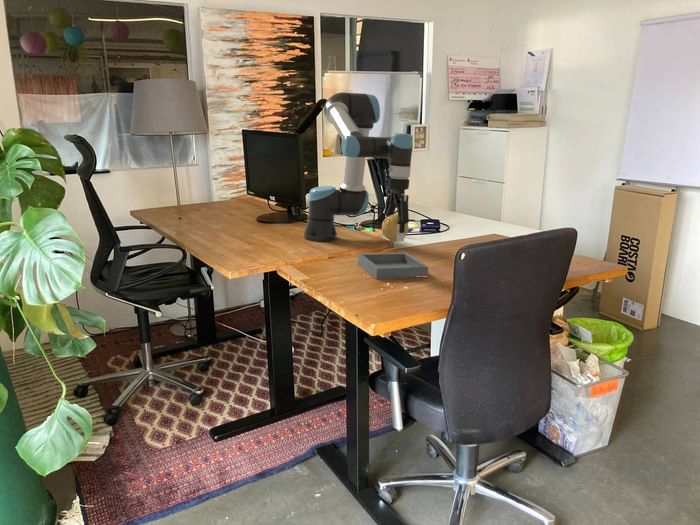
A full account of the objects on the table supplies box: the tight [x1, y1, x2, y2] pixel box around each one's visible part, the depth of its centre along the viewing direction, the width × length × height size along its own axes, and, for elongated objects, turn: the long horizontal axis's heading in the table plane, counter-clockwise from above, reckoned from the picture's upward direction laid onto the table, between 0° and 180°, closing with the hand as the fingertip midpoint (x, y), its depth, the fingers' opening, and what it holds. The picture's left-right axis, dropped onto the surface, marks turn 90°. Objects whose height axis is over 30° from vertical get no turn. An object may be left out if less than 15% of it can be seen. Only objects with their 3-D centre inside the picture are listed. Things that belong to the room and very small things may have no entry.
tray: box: [357, 252, 429, 280], centre depth 206 cm, size 20×20×4 cm
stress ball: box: [381, 213, 409, 243], centre depth 202 cm, size 10×10×10 cm
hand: (394, 237), depth 203 cm, fingers closed on stress ball, 10 cm apart
